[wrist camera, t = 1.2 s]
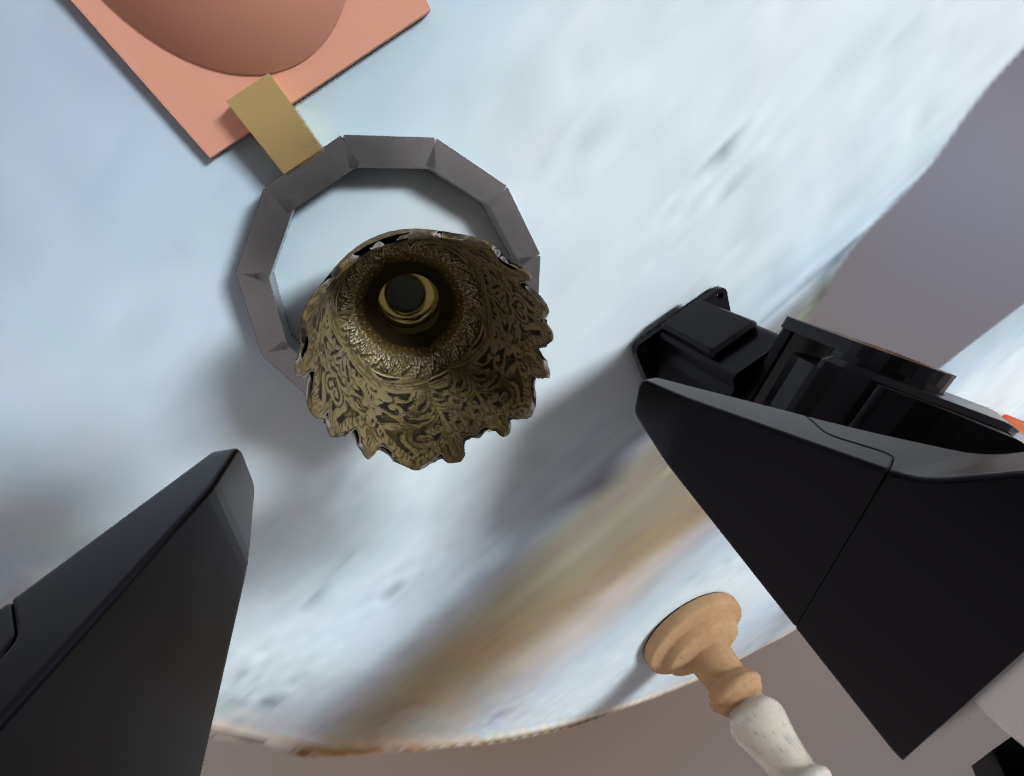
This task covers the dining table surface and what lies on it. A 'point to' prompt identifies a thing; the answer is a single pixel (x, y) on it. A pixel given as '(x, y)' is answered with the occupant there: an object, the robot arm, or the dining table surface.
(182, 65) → the coaster
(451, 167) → the collar
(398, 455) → the cup
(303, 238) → the dining table surface
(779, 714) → the candle holder
